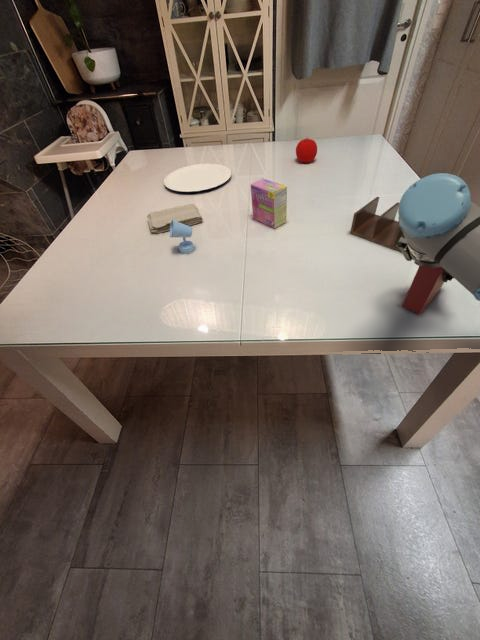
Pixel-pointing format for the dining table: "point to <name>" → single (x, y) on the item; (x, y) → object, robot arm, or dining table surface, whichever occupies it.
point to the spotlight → (182, 231)
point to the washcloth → (173, 217)
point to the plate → (197, 177)
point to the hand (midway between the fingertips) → (436, 272)
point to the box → (269, 202)
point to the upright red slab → (423, 288)
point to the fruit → (306, 150)
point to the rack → (377, 225)
